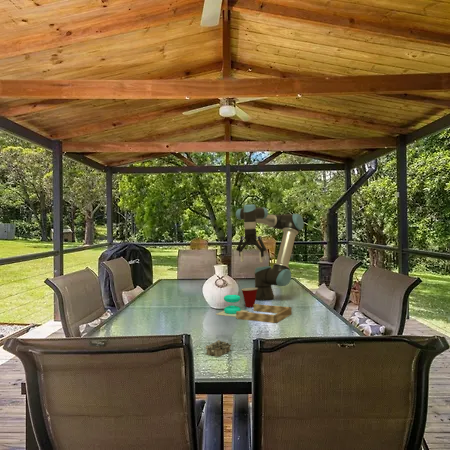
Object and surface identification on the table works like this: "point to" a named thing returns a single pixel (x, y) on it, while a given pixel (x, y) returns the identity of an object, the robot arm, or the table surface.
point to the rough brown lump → (218, 348)
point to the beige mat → (229, 314)
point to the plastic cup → (249, 296)
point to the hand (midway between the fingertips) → (251, 261)
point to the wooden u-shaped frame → (281, 314)
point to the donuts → (232, 299)
